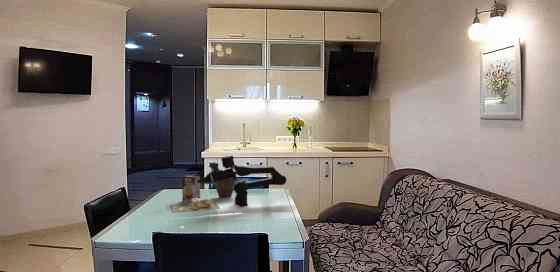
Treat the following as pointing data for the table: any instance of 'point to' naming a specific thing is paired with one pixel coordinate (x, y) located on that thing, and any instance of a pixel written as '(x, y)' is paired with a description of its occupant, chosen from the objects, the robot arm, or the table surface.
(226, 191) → the plant pot
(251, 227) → the table surface
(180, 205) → the board
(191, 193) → the coffee box
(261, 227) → the table surface
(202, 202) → the t block
